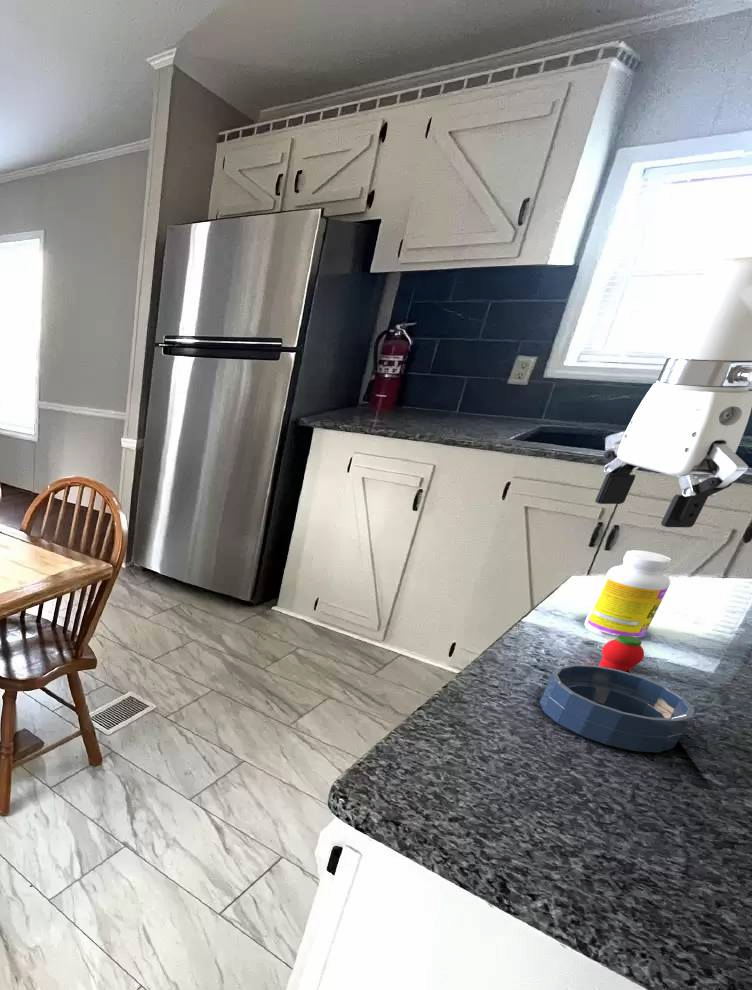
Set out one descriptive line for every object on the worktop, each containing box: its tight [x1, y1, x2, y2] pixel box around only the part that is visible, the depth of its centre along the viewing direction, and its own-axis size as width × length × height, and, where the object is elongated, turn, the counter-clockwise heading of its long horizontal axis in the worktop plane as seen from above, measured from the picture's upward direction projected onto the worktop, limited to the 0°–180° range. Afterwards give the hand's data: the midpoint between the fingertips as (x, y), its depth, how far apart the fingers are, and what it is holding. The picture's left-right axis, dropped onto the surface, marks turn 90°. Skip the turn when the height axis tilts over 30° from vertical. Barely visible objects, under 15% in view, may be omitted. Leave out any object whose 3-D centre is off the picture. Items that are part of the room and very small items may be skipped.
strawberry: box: [598, 635, 645, 673], centre depth 87 cm, size 4×4×5 cm
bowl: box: [539, 663, 695, 753], centre depth 76 cm, size 12×12×5 cm
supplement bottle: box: [584, 549, 672, 639], centre depth 95 cm, size 7×7×13 cm
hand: (640, 514), depth 82 cm, fingers open, 9 cm apart
